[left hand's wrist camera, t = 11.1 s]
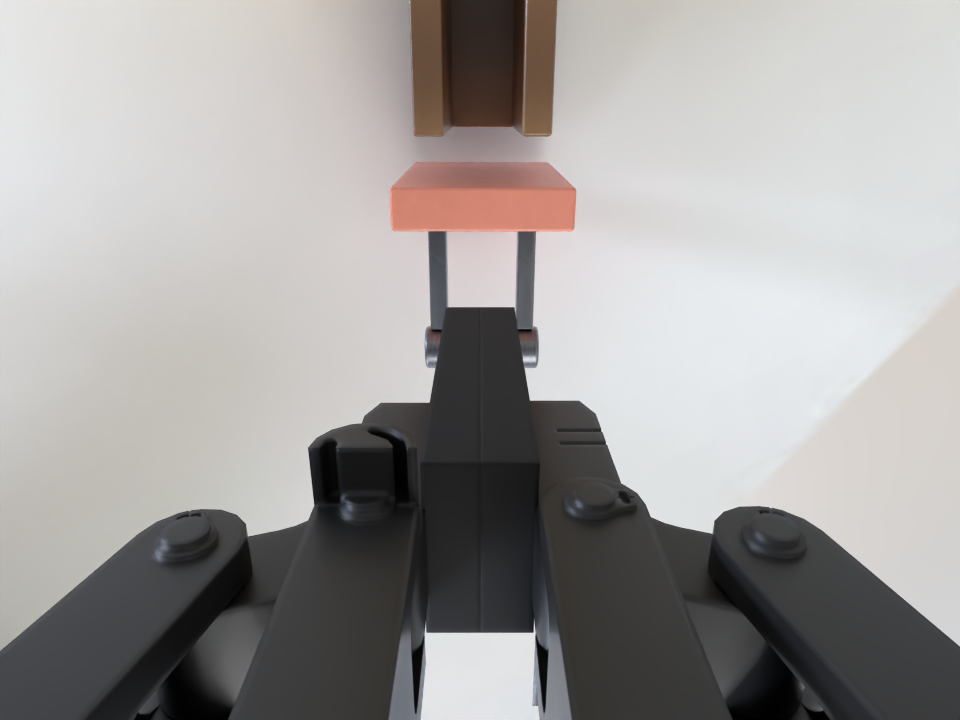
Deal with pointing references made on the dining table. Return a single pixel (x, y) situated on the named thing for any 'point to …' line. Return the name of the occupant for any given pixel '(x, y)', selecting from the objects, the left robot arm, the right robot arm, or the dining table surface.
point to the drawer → (482, 103)
